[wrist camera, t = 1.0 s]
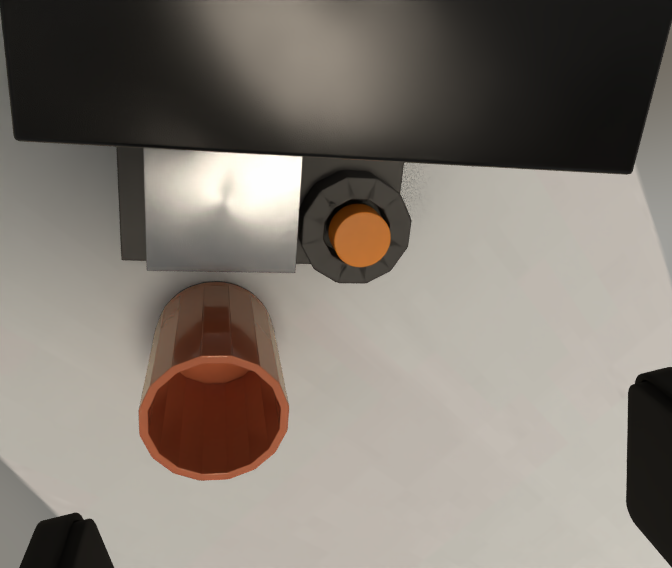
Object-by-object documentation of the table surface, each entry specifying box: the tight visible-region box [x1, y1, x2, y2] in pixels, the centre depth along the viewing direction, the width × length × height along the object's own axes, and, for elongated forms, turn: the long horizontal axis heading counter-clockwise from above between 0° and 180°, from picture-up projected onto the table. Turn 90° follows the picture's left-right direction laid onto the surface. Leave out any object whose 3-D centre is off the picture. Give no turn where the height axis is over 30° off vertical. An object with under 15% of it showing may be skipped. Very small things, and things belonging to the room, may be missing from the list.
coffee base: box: [117, 147, 411, 283], centre depth 31 cm, size 15×16×3 cm
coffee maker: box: [0, 0, 672, 273], centre depth 21 cm, size 16×12×19 cm
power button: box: [328, 204, 391, 267], centre depth 32 cm, size 3×3×2 cm
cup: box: [139, 282, 289, 481], centre depth 32 cm, size 7×7×9 cm
